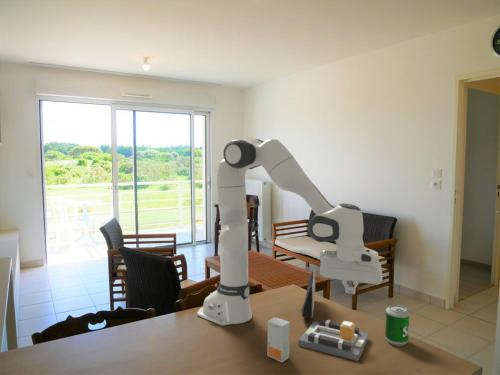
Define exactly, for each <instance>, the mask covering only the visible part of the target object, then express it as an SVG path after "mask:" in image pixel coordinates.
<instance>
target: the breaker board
mask: <svg viewBox="0 0 500 375" xmlns="http://www.w3.org/2000/svg"><path fill="white" fill-rule="evenodd" d="M310 333H311V334H315V335H316V334H317V333H318V334H320V336H323V337H327V338H332V339H336V340H340V339H341V338H340V330H336V329H332V328H327V327H323V326H319V321H313V322H312V323H311V325H309V327H308V328H307V329H306V330H305V331H304V333H303V334H302V335H301V336H300V337H299V339H298V346H299V347H303V348H307V349H310V350H314V351H317V352H321V353H325V354H328V355H329V354H330V355H334V356H337V357H340V358H345V359H348V360H352V361H355V362H359V360H360V358H361V356H362V353H363V352H364V349H365V347H366V345H367V342H368V340H369V333H366V332H362V331H359V334H354V337H353V339H352V341H349V340H345V339H343V340H344V342H348V343H351V349H350V351H347V350H343V349H342V350H341V349H338V348H335V347H331V346H327V345H324V344H320V343H318V344H317V343H314V342H312V341H308V335H309V334H310Z"/></svg>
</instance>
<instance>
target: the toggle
mask: <svg viewBox="0 0 500 375" xmlns="http://www.w3.org/2000/svg"><path fill="white" fill-rule="evenodd" d="M340 324H341V325H340V338H341V339H345V340H349V341H352V339H353V337H354V334H355V327H356V325H355V323H354V322H351V321H349V320H347V321H346V320H344V321H342V322H341V323H340Z"/></svg>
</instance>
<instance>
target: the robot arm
mask: <svg viewBox="0 0 500 375" xmlns="http://www.w3.org/2000/svg"><path fill="white" fill-rule="evenodd" d="M258 167H262V168H263V169H264V170H265V172H266V173H267V174H268V176H269V177H270V179H271V181H272V182H273V183H274V184H275V185H276V186H277V187H278V188H279V189H280V190H283V191H285V192H290V193H293V194H295V195H298V196H299V197H301V198H302V199H303V200H304V201H305V202H306V204H307V205H308V206H309V207H310V209H311V210H312V211H313V213H314V214H315V215H314V216H312V217H311V218H310V220H309V221H308V224H307V232H308V235H309V236H310V237H311V238H312V239H313V240H314V241H316V242H319V243H325V242H333V241H334V242H335V247H336V248H335V249H336V250H327V249H326V250H323V251H321V252H320V253H319V261H320V265H319V275H320V277H321V278H325V279H330V280H331V279H332V280H341V284H342V285H343V287H344V289H345V294H350V295H355V294H356V288H357V287H358V285H359V283H363V284H370V285H379V284H381V283H382V282H383V269H382V265H381V262H380V260H378V259H379V253H378V251H376V250H374V249H370V248H368V247H366V246H365V245H364V240H363V235H364V217H363V212H362V210H361V208H360V207H359V206H358V205H357V206H356V205H355V204H351V203H339V204H338V205H337V206H333V205H332V204H331V203H330V202H329V201H328V200H327V198H326V197H325V196H324V195H323V194H322V192H321V191H320V189H319V188H317V186H316V185H315V184H314V183H313V182H312V180H311V179H310V178H309V176H308V175H307V174H306V173H305V171H304V170H303V168H302V167H301V165H300V164H299V162H298V161H297V159H296V158H295V156H293V154H292V153H291V151H289V149H288V148H287V147H286V146H285V145H284V143H282V142H281V141H280V140H279V139H277V138H268V139H267V140H261V139H259V138H258V139H257V138H256V139H255V138H249V137H247V138H241V139H240V138H239V139H238V138H236V139H233V140H230V141H229V142H228V143H226V145H225V146H224V148H223V159H222V160H220V162H219V163H218V166H217V174H216V185H217V186H216V187H217V202H218V211H219V212H218V213H219V218H220V220H219V222H220V233H219V237H218V242H219V243H218V244H219V260H220V262H219V263H220V280H219V281H218V282H217V283H215V284H214V285H215V286H214V287H215V288H216V287H217V288H216V290H214V291H213V292H212V293H210V294H209V295H208V296H206V297H205V299H204V301H203V305H202V307H200V308H199V309H198V310H197V312H196V313H197V314H196V315H197V316H198V317H200V318H203V319H205V320H208V321H210V322H212V323H215V324H217V325H219V326H228V325H237V324H243V323H246V322H249V321H250V320H252V318H253V314H252V309H251V305H250V282H249V224H248V223H249V222H248V210H247V209H248V208H247V207H248V206H247V191H246V190H247V189H246V188H247V187H246V172H247V171H248V170H253V169H255V168H258ZM348 282H352V284H353V285H354V286H349V284H348Z"/></svg>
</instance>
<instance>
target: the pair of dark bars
mask: <svg viewBox="0 0 500 375" xmlns="http://www.w3.org/2000/svg"><path fill="white" fill-rule="evenodd" d="M318 323H319V326H323V327H327V328H332V329H336V330H340V325H341V324H342V323H337V322H334V321H331V319H327V320H324V319H320V320H319V321H318ZM359 332H360V327H357V326H355V334H359ZM308 341H312V342H314V343H317V344H318V343H320V344H324V345H327V346H331V347H335V348H338V349H341V350H342V349H343V350H347V351H350V349H351V343H348V342H344V340H343V339H340V340H336V339H332V338H327V337H323V336H320V334H318V333H317V334H316V335H315V334H311V333H310V334H309V335H308Z"/></svg>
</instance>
